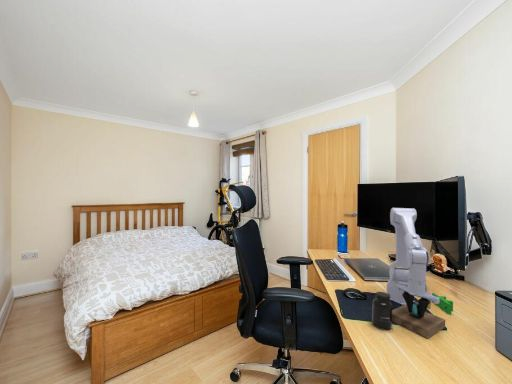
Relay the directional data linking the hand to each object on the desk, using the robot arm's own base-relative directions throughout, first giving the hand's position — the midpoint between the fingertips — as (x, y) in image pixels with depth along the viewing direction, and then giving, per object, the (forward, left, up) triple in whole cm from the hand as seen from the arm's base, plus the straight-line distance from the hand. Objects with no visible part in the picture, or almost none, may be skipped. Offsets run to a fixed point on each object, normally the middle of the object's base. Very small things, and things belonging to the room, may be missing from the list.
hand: (416, 314), depth 92 cm
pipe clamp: (0, +25, -4) cm, 25 cm away
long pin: (0, 0, -4) cm, 4 cm away
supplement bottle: (-6, -13, -4) cm, 15 cm away
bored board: (0, 0, -4) cm, 4 cm away
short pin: (-4, +19, -4) cm, 20 cm away
